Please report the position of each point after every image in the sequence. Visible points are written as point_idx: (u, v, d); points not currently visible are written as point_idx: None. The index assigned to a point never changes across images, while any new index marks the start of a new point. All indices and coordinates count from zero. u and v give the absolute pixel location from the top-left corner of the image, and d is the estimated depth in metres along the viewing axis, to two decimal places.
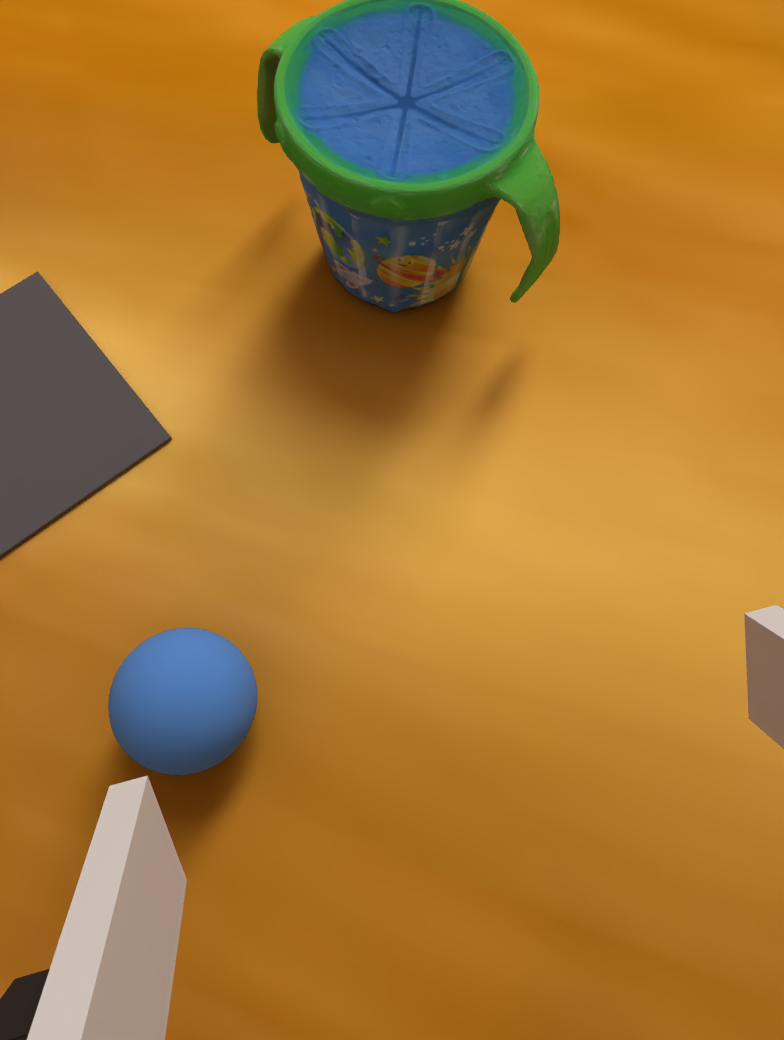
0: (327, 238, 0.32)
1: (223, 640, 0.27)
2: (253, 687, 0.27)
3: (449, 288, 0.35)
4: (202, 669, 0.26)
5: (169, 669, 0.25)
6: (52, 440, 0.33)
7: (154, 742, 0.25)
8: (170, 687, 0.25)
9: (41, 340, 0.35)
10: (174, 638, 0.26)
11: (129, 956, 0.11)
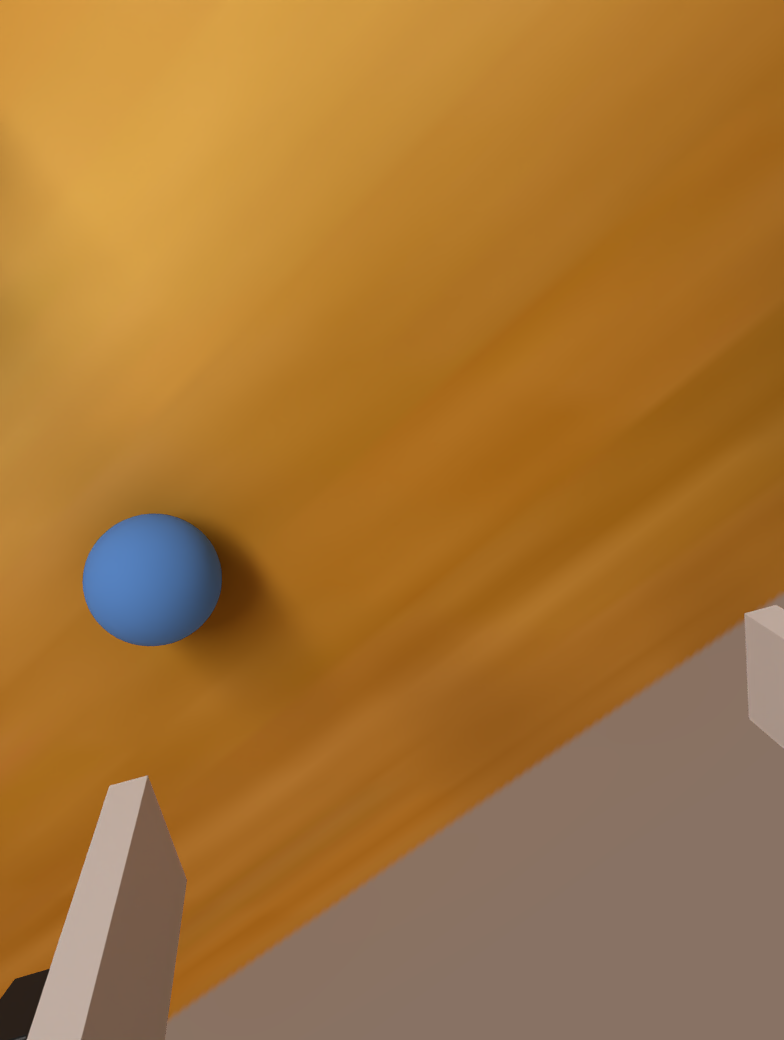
0: None
1: (114, 532, 0.28)
2: (170, 522, 0.29)
3: None
4: (133, 566, 0.27)
5: (121, 594, 0.27)
6: None
7: (179, 623, 0.28)
8: (138, 599, 0.27)
9: None
10: (93, 576, 0.28)
11: (129, 956, 0.11)
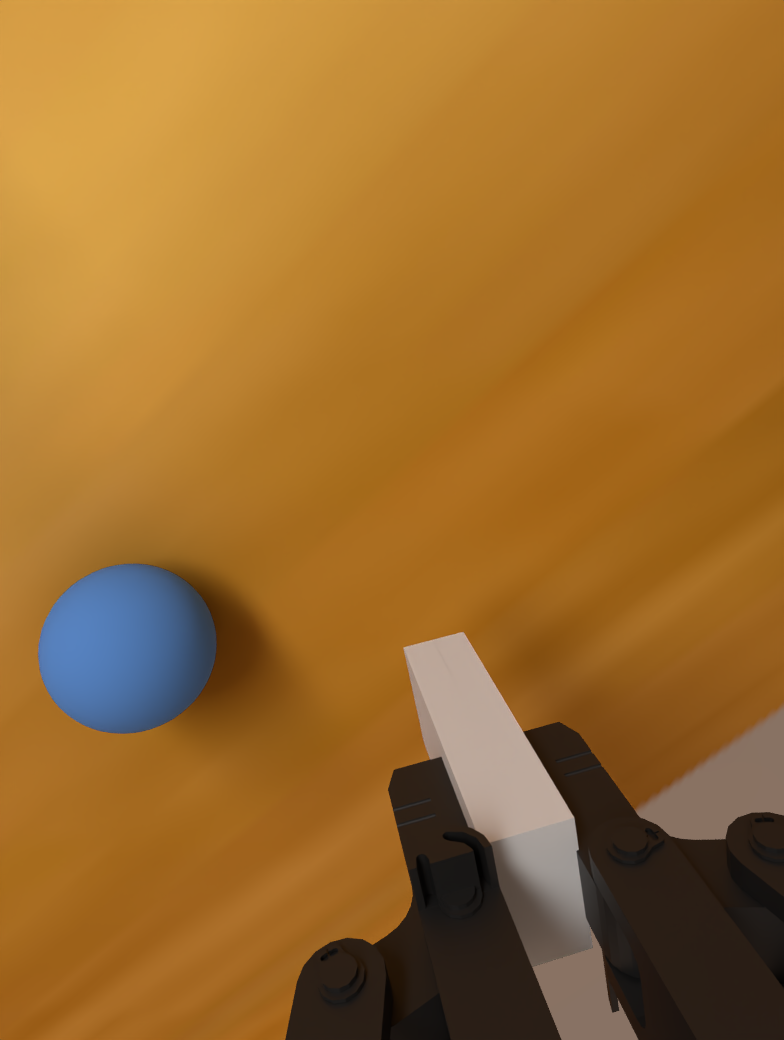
0: None
1: (77, 592, 0.22)
2: (149, 577, 0.23)
3: None
4: (101, 639, 0.21)
5: (85, 675, 0.21)
6: None
7: (162, 707, 0.22)
8: (108, 681, 0.21)
9: None
10: (50, 651, 0.21)
11: None
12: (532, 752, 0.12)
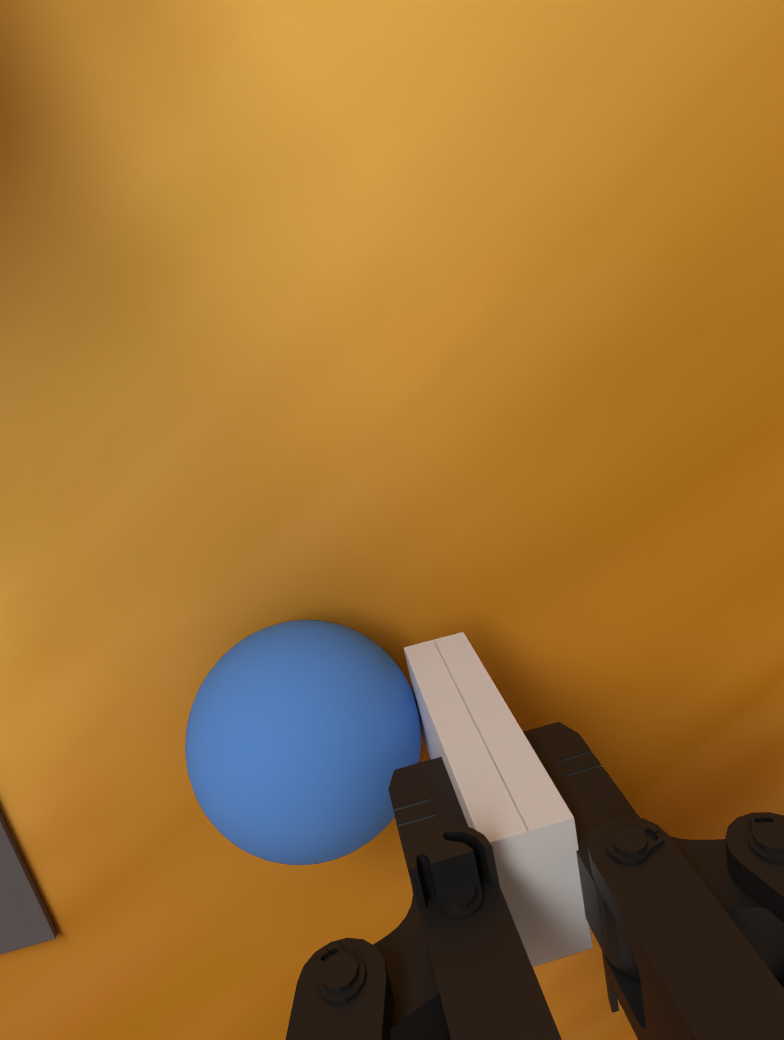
0: None
1: (233, 658, 0.16)
2: (319, 666, 0.15)
3: None
4: (223, 746, 0.15)
5: (203, 784, 0.15)
6: None
7: (296, 858, 0.15)
8: (223, 806, 0.15)
9: None
10: (188, 726, 0.16)
11: None
12: (532, 752, 0.12)
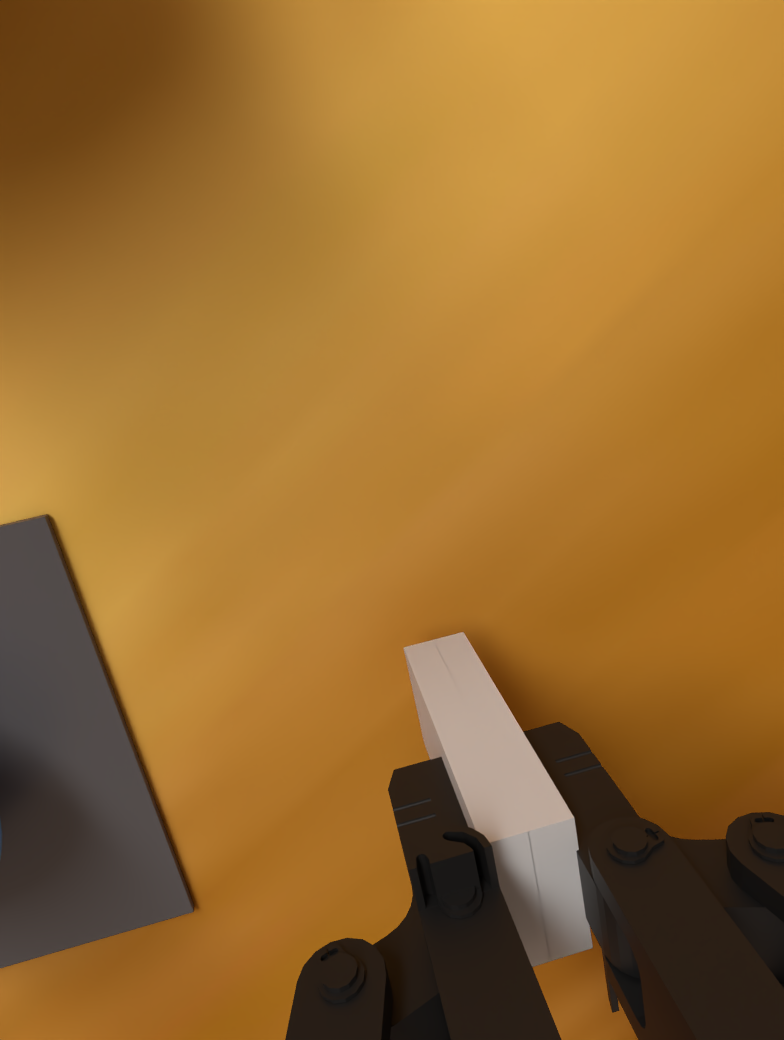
0: None
1: None
2: None
3: None
4: None
5: None
6: None
7: None
8: None
9: None
10: None
11: None
12: (532, 752, 0.12)
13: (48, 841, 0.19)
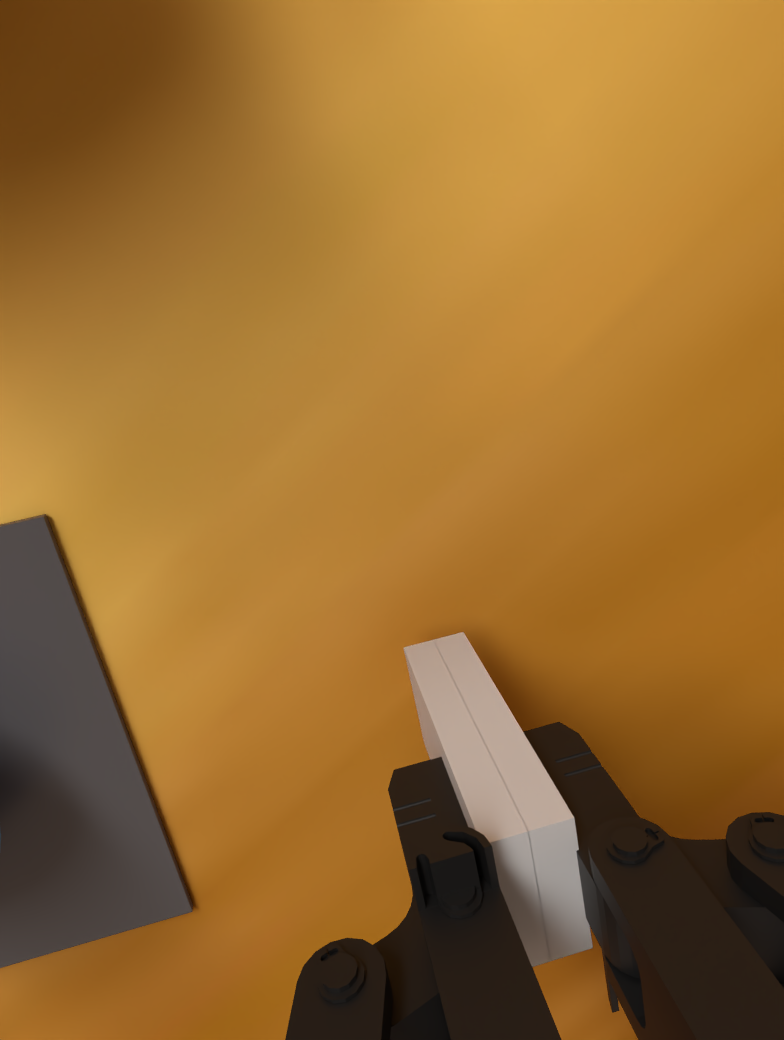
0: None
1: None
2: None
3: None
4: None
5: None
6: None
7: None
8: None
9: None
10: None
11: None
12: (532, 752, 0.12)
13: (46, 840, 0.19)
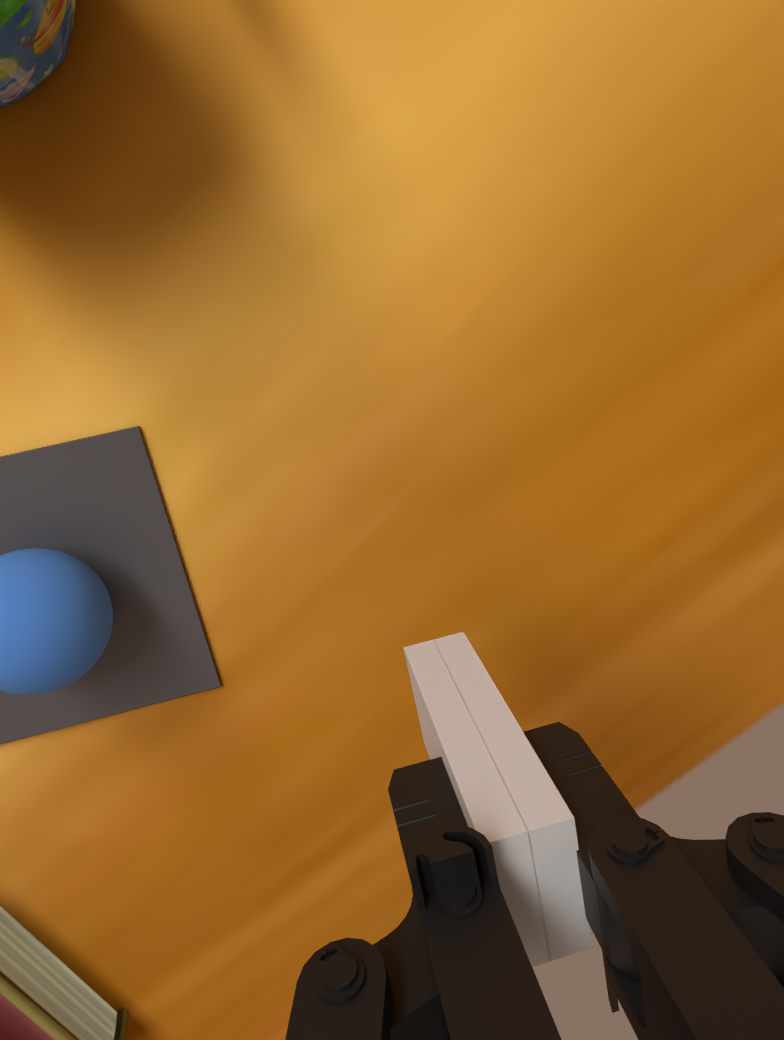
0: None
1: None
2: (53, 552, 0.27)
3: None
4: (35, 599, 0.25)
5: (25, 632, 0.24)
6: (89, 549, 0.29)
7: (88, 654, 0.26)
8: (47, 634, 0.25)
9: None
10: None
11: None
12: (532, 752, 0.12)
13: (132, 632, 0.30)
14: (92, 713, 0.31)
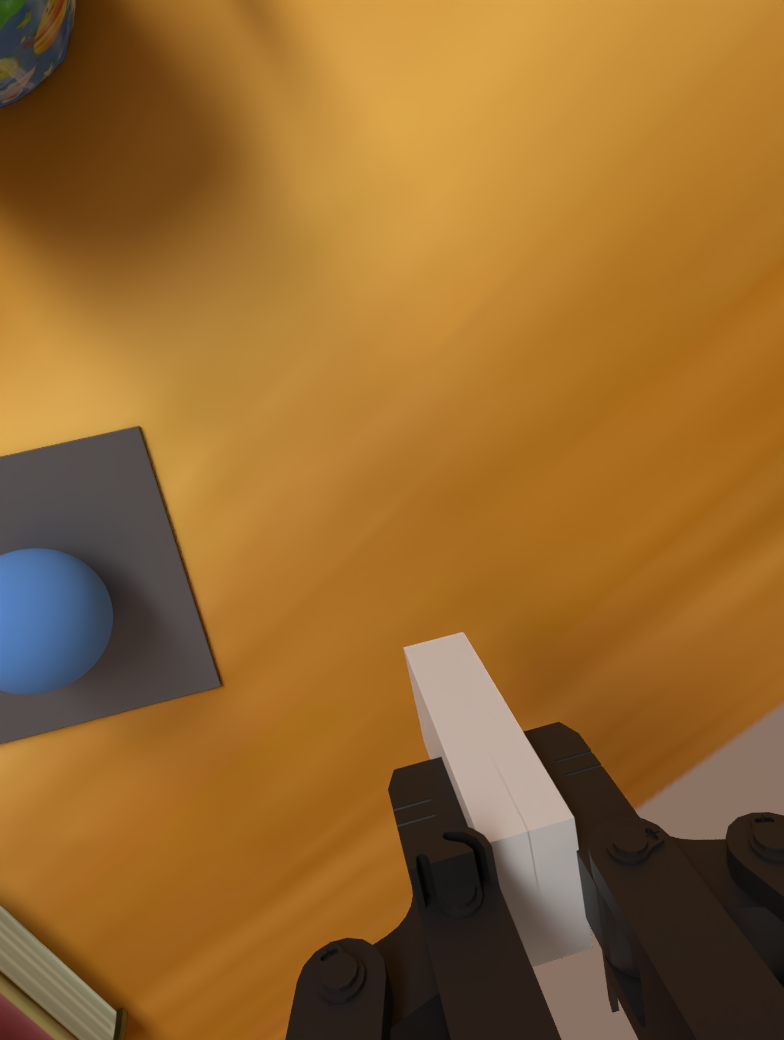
0: None
1: None
2: (53, 552, 0.27)
3: None
4: (35, 599, 0.25)
5: (25, 632, 0.24)
6: (89, 549, 0.29)
7: (88, 654, 0.26)
8: (47, 634, 0.25)
9: None
10: None
11: None
12: (532, 752, 0.12)
13: (132, 632, 0.30)
14: (93, 713, 0.31)
